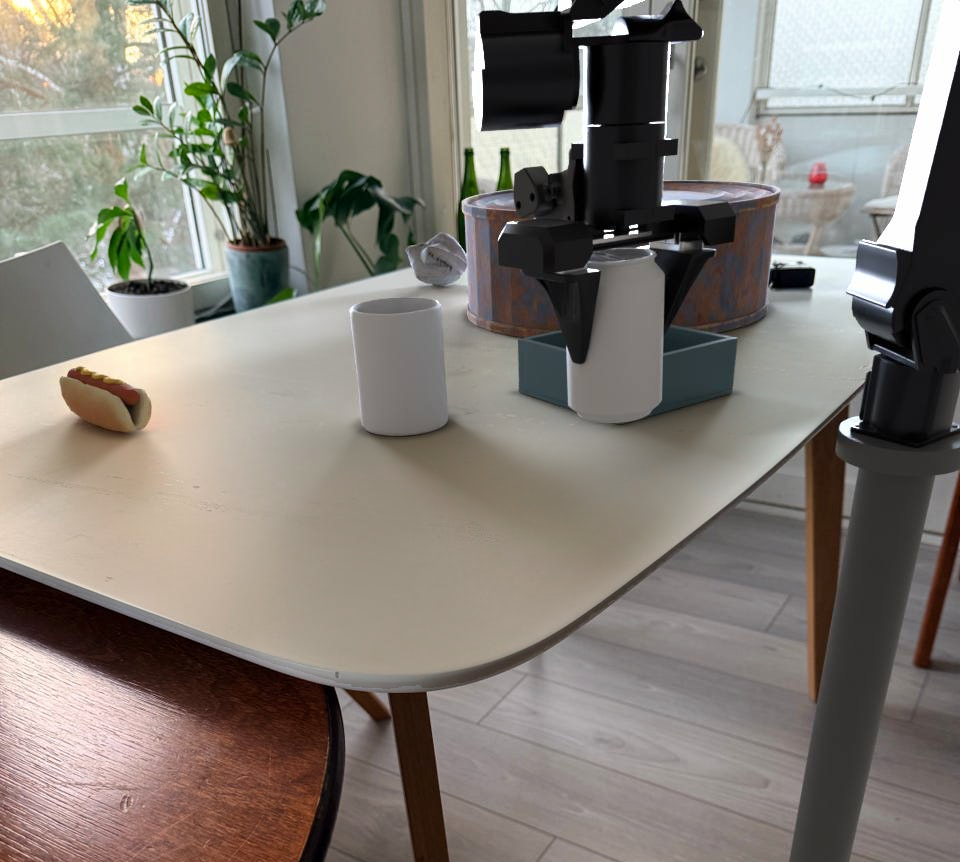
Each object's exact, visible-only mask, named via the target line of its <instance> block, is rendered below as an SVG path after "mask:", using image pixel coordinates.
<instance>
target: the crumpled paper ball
mask: <svg viewBox="0 0 960 862" xmlns="http://www.w3.org/2000/svg"><path fill="white" fill-rule="evenodd" d="M462 247H463V246H461V245H460V243H459V241H458V240H456V238H455V237H453V236H452V235H451V234H450V233H448V232H443V231H441V232H439V233H438V234H436V235H434V237H432V238H430V239H428V241H426V242H423V241H422V242H419V243H417V244H414V245H408V246H406V248H405V253H406V254H407V256H408V260H409V263H410V266H411V268H412V271H413V275H414V277H415V278H416V279H417V280H418V281H419V282H422V283H424V284H428V285H434V286H445V285H451V284H454V283H455V282H457V281H458V280H459V279H460V278H461V276H462V275H464V273H465V272H467V254H466V252H465V249H463V248H462Z"/></svg>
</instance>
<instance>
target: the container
mask: <svg viewBox="0 0 960 862" xmlns="http://www.w3.org/2000/svg"><path fill="white" fill-rule="evenodd" d="M513 194H514V188H512V189H504V190H498V191H491V192H485V193H480V194H475V195H472V196H469V197H465V199H463V200H461V211H462V213H463V215H464V228H465V230H464V232H465V251H466V252H465V254H466V256H467V268H466V272H467V293H468V294H467V295H468V296H467V297H468V303H467V304H466V316H467V318H468V321H469V322H471V323H472V324H474V325H475V326H476V327H479V328H482V329H484V330H487V331H489V332H493V333H497V334H502V335H506V336H511V337H517V338H526V337H530V336H535V335H540V334H545V333H550V332H554V331H559V330H561V328H560V325H559V322H558V319H557V317H556V314H555V311H554V309H553V306H552V304H551V302H550V300H549V298H548V296H547V293H546V292H545V290H544V289H543V288H542V287H541V285H540V284H539V283H538V282H537V281H536V280H535V279H534V278H533V277H528V276H524V275H523V274H522V272H521V271H520V269H516V268H510V267H504V266H499V264H498V239H499V236H500V234H501V232H502V230H503V229H504V227H505V225H506V223H510V222H518V221H525V220H533V219H534V218H527V219H521V218H520V217H519V216H518V215H517V213H516V208H515V204H514V199H513ZM781 197H782V188H780V187H778V186H776V185H771V184H766V183H758V182H757V183H756V182H748V181H733V180H705V179H704V180H700V179H699V180H698V179H697V180H696V179H695V180H694V179H693V180H691V179H676V180H675V179H669V180H666V179H665V180H664V179H663V199H662V202H667V201H675V200H682V199H693V200H708V201H724V202H729V204H730V206H731V208H732V209H733V211H734V213H735V214H736V224H735V235H734V242H731V243H725V244H719V245H714V246H706V245H704V243H703V248H708V249H715V250H716V255H715V257H713V258H710V259H709V260H708V261H707V262H706V264H705V266H704V267H703V269H702V271H701V272H700V274H699V276H698V277H697V279H696V280H695V282H694V284H693V285H692V287H691V289H690V290H689V292H688V294H687V296H686V297H685V299H684V301H683V303H682V305H681V307H680V309H679V310H678V312H677V314H676V316H675V318H674V320H673V322H672V324H671V325H676V326H681V327H686V328H691V329H696V330H701V331H706V332H711V333H716V334H719V333H723V332H726V331H730V330H735V329H739V328H742V327H746V326H748V325H750V324H753V323H755V322H757V321H760V320H761V319H762V318H764V317H765V316H766V315H767V313H768V310H769V306H770V305H769V304H770V298H769V297H768V291H769V283H770V282H769V281H770V273H771V263H772V256H773V255H772V254H773V247H774V237H775V227H776V218H777V210H778V204H779V203H780V201H781ZM644 246H649V243H644V244H637V245H631V246H625V247H619V248H638V247H644Z"/></svg>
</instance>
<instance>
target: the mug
mask: <svg viewBox="0 0 960 862" xmlns="http://www.w3.org/2000/svg"><path fill="white" fill-rule="evenodd" d="M349 316H350V317H349V318H350V327H351V336H352V345H353V353H354V354H353V355H354V363H355V371H356V372H355V373H356V380H357V381H356V382H357V390H358V391H357V392H358V400H359V410H360V411H359V412H360V421H361V425H362V428H363V429H364V430H365V431H367V432H369V433H372V434H374V435H380V436H387V437H388V436H389V437H407V436H415V435H421V434H426V433H430V432H434V431H437V430H438V429H441V428H442V427H444V426H445V425H446V424H447V423H448V421H449V402H448V390H447V376H446V361H445V345H444V343H445V342H444V329H443V327H444V326H443V312H442V304H441V302H440V301H439V300H437V299H434V298H429V297H420V296H400V297H399V296H398V297H397V296H396V297H395V296H394V297H385V298H384V297H383V298H377V299H376V298H375V299H371V300H365V301H361V302H359V303H355V304H353V305H352V306H351V307H350V309H349Z"/></svg>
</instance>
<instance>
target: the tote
mask: <svg viewBox="0 0 960 862" xmlns="http://www.w3.org/2000/svg"><path fill="white" fill-rule="evenodd" d="M738 340H739V338H738V337H735V336H730V335H725V334H721V333H711V332H706V331H701V330H696V329H691V328H686V327H681V326H676V325H671V326H670V328H669V330H668V332H667V334H666V335H665V337H664V339H663V372H662V401H661V402H660V403H659V405H658V406H656V407H655V408H654V409H653V410H652V411H651V413H650V414H649V415H647V416H645V417H644V418H641V419H638V420H634V421H629V422H622V423H614V425H618V426H621V425H625V424H628V423H631V422H636V421H639V420H643V419H646V418H649V417H653V416H656V415H661V414H663V413H667V412H670V411H674V410H678V409H681V408H684V407H687V406H691V405H695V404H699V403H702V402H706V401H708V400H713V399H716V398H719V397H722V396H723V397H724V396H726V395H730V394H733V390H734V379H735V369H736V361H737V347H738ZM517 366H518V369H517V370H518V371H517V372H518V393H520V394H523V395H527V396H530V397H533V398H536V399H538V400H542V401H545V402H547V403H550V404H551V403H552V404H554V405H557V406H560V407H563V408H566V409H570V410H572V411H574V410H573V409H572V408H571V407H569V406H568V385H567V353H566V343H565V340H564V337H563V334H562V331H561V330H559V331H554V332H550V333H545V334H540V335H535V336H530V337H526V338H524V337H520V338H517Z"/></svg>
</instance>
